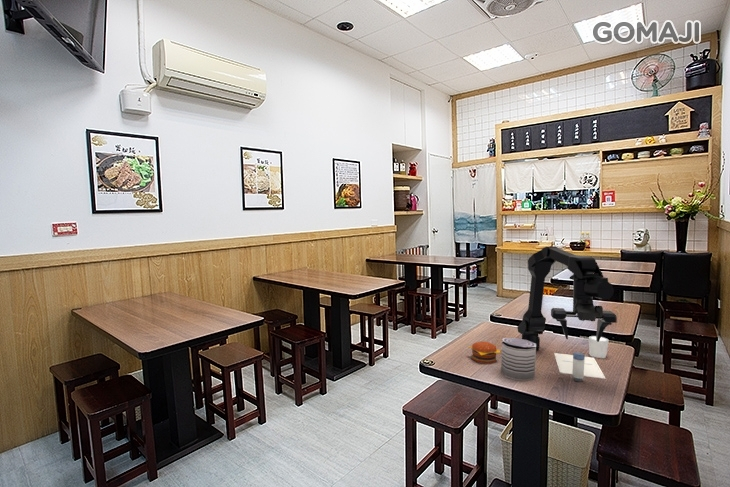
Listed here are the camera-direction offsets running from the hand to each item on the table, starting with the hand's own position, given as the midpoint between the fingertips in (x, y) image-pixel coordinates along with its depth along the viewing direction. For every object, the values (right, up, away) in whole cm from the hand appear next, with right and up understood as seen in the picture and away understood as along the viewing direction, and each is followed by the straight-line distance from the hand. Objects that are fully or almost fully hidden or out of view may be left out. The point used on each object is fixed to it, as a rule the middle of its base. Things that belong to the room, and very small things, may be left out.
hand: (582, 340), depth 130 cm
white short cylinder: (+19, -12, +23) cm, 33 cm away
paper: (+6, -13, +13) cm, 19 cm away
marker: (-1, -14, +1) cm, 14 cm away
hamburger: (-27, -12, +19) cm, 36 cm away
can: (-19, -14, +6) cm, 24 cm away
